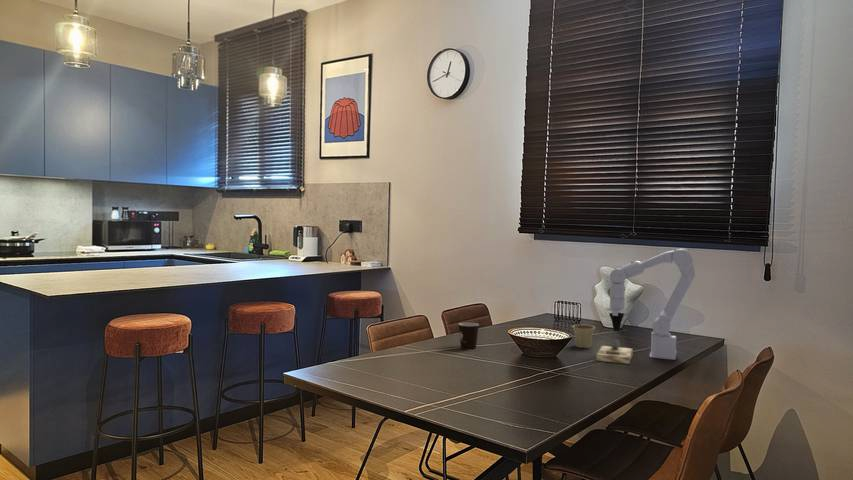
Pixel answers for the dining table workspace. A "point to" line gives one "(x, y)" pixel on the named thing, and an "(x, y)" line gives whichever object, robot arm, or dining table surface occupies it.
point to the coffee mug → (468, 335)
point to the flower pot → (583, 335)
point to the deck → (614, 354)
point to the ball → (615, 344)
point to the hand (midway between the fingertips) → (616, 330)
